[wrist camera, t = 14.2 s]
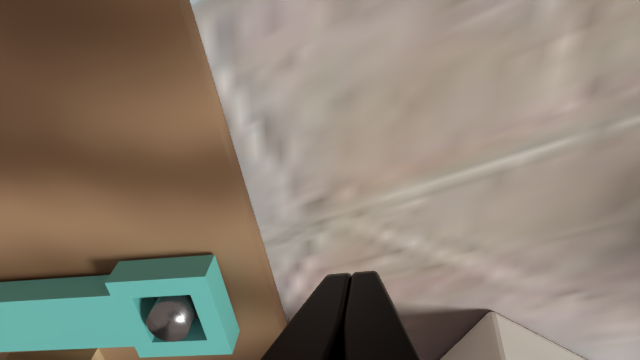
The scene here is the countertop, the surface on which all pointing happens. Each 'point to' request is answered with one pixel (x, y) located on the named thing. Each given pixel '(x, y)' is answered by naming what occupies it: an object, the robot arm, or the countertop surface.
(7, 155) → the board
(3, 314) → the link
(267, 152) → the countertop surface
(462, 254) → the countertop surface
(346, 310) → the robot arm
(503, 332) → the soap bottle
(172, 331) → the pintle
